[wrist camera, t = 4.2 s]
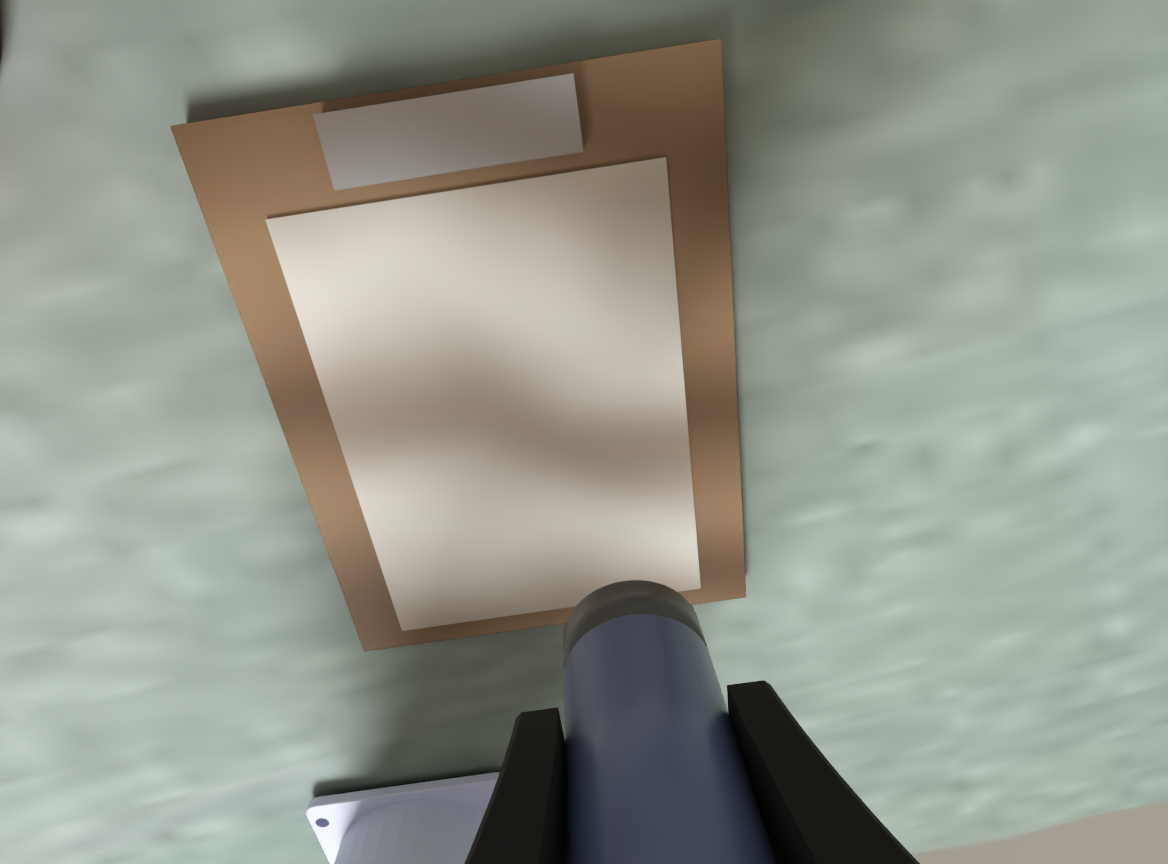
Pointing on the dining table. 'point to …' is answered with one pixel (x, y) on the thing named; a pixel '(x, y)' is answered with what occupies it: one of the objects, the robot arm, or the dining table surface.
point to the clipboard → (496, 333)
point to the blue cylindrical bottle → (651, 738)
